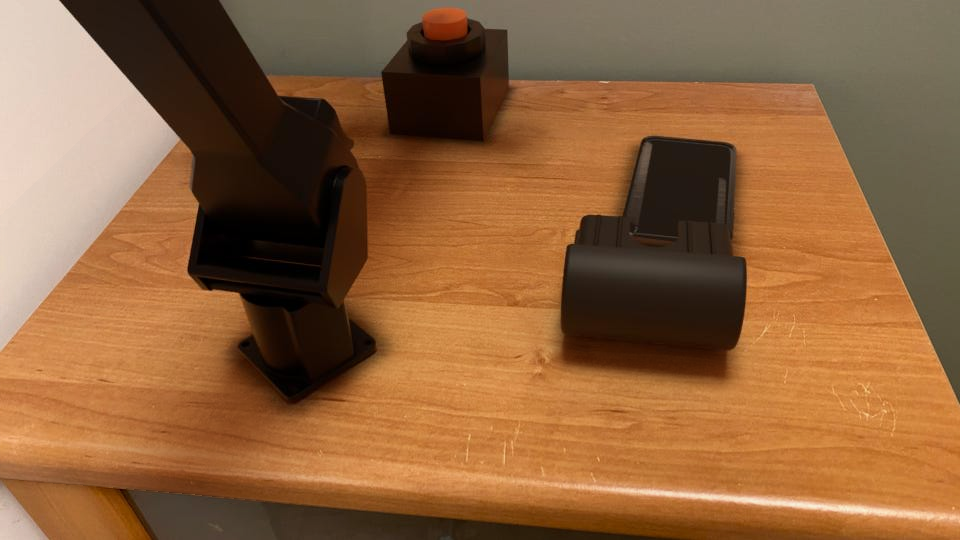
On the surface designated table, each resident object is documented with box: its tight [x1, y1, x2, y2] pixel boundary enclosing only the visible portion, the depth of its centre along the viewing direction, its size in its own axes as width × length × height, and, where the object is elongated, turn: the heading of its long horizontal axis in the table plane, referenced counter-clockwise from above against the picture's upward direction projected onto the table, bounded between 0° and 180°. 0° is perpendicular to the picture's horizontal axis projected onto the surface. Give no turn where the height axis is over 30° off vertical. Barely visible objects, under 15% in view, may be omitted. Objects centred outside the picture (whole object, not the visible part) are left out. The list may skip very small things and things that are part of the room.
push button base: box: [380, 17, 510, 142], centre depth 68 cm, size 11×9×8 cm
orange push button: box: [421, 7, 468, 40], centre depth 66 cm, size 4×4×2 cm
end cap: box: [559, 214, 748, 352], centre depth 44 cm, size 10×7×7 cm
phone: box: [622, 135, 738, 247], centre depth 57 cm, size 8×1×15 cm
